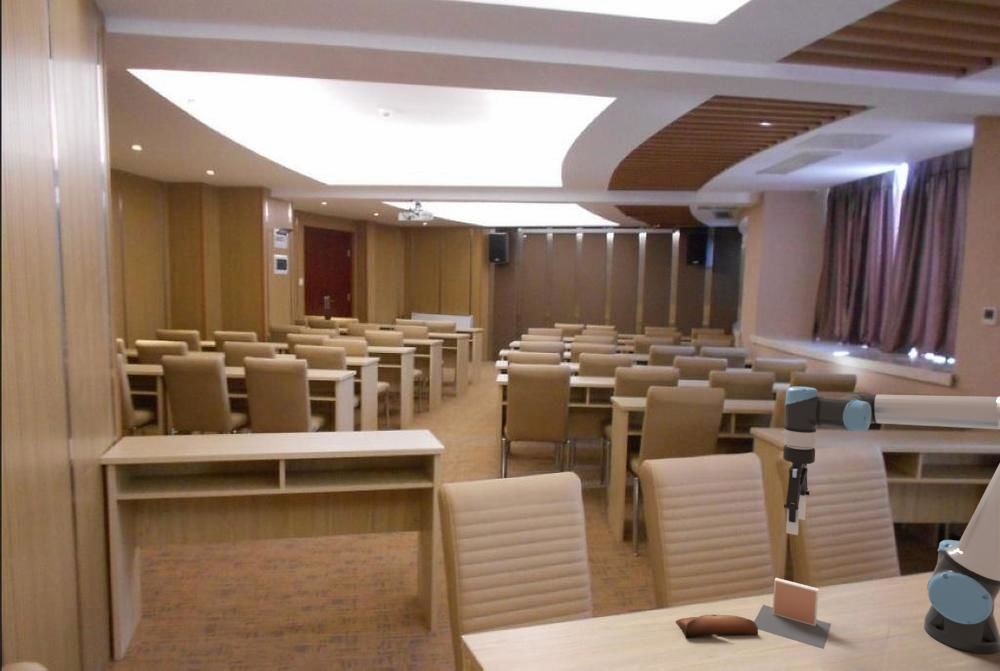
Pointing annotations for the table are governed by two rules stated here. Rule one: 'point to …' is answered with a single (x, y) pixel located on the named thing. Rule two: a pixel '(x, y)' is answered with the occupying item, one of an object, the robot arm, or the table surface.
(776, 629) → the mat
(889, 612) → the table surface
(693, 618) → the sunglasses case
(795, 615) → the tile
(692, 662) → the table surface
